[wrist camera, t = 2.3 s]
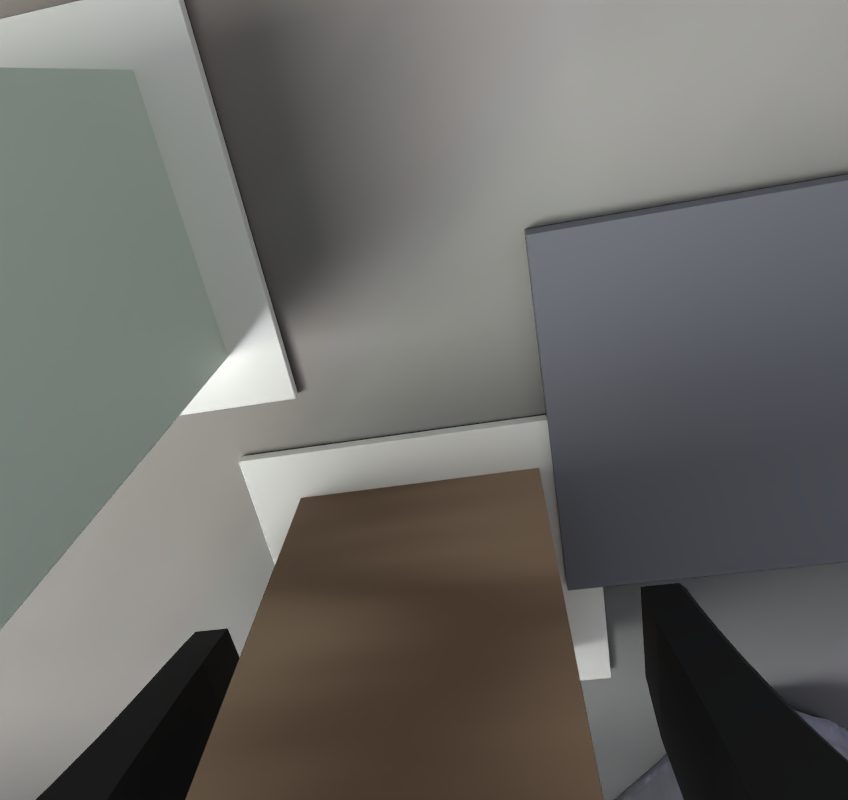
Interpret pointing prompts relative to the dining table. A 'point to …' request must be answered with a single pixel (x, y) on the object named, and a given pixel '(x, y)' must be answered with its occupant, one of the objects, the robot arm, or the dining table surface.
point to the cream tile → (424, 462)
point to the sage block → (86, 308)
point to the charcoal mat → (698, 384)
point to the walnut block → (409, 656)
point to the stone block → (658, 789)
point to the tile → (176, 169)
